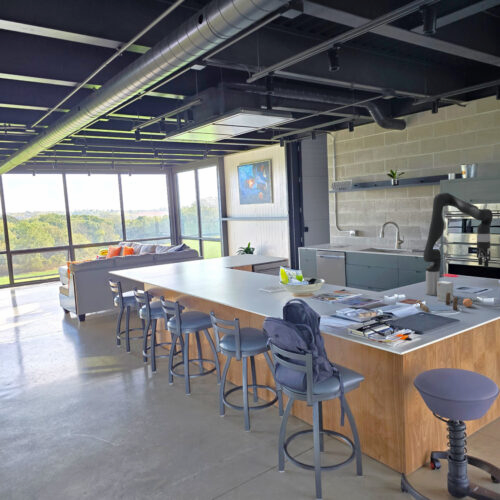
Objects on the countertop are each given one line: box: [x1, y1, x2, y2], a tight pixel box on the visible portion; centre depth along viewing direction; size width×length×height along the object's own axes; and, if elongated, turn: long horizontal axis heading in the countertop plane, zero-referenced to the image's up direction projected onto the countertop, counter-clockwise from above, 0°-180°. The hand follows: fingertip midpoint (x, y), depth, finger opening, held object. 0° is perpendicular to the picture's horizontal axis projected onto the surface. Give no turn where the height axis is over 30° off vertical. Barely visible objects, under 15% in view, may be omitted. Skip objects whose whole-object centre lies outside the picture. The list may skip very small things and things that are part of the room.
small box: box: [436, 280, 454, 303], centre depth 296 cm, size 8×6×13 cm
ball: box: [462, 298, 473, 308], centre depth 279 cm, size 6×6×6 cm
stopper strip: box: [415, 300, 430, 313], centre depth 282 cm, size 20×2×2 cm, turn 175°
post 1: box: [445, 293, 451, 306], centre depth 286 cm, size 3×3×8 cm
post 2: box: [452, 296, 459, 311], centre depth 273 cm, size 3×3×8 cm
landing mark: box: [424, 304, 452, 312], centre depth 281 cm, size 13×13×1 cm
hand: (483, 266), depth 275 cm, fingers open, 8 cm apart
